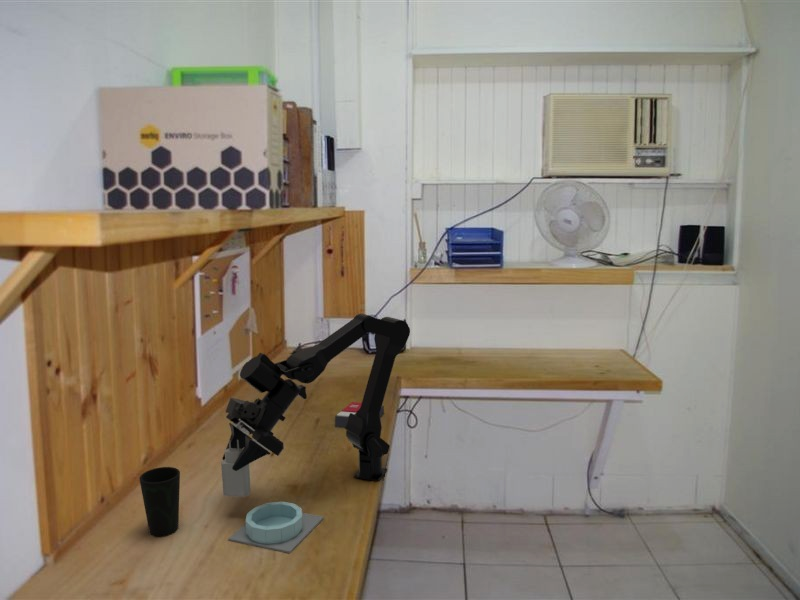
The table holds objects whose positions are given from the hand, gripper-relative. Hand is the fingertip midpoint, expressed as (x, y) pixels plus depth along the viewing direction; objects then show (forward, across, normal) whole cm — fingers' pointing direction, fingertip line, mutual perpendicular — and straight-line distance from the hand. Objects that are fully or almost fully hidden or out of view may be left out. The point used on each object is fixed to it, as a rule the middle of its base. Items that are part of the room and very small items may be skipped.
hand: (228, 465), depth 130 cm
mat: (+4, +10, +12) cm, 17 cm away
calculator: (-29, -34, +47) cm, 65 cm away
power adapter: (+4, 0, +6) cm, 7 cm away
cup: (+18, -4, -1) cm, 18 cm away
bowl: (+5, +11, +12) cm, 17 cm away
